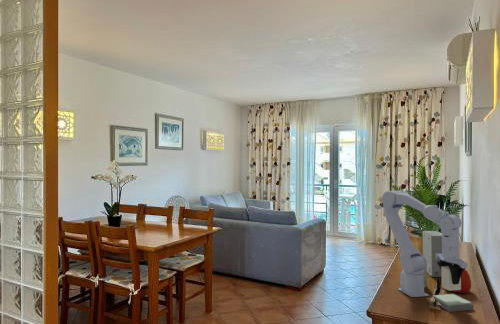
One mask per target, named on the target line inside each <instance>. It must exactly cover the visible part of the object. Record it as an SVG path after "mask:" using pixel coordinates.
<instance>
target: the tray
mask: <svg viewBox="0 0 500 324" xmlns="http://www.w3.org/2000/svg"><path fill="white" fill-rule="evenodd" d="M433 296H434V297H435V300H436V301H438V302H439V303H440V304H441V307H440V308H441V309H444V310H445V311H447V312H449V313H451V312H462V311H474V304H473V303H472V302H471V301H470V300H467V299H465V298H462V297H461V296H459V295H456V294H455V293H448V294H447V293H446V294H435V295H432V296H430V299H431V298H432V297H433Z"/></svg>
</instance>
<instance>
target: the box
mask: <svg viewBox="0 0 500 324" xmlns="http://www.w3.org/2000/svg"><path fill="white" fill-rule="evenodd" d="M424 288H428V273H427V267H426V268H425V269H424Z"/></svg>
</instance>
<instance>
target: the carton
mask: <svg viewBox="0 0 500 324" xmlns="http://www.w3.org/2000/svg"><path fill="white" fill-rule="evenodd" d="M441 275H442V277H441V288H442V289H445V290H447V291H449V292H450V291H451V292H453V291H452V290H461V277H460V281H459V284H453V283H452V276H451V271H450V269H449V267H448V266H441Z"/></svg>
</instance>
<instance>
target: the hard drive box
mask: <svg viewBox="0 0 500 324" xmlns="http://www.w3.org/2000/svg"><path fill="white" fill-rule="evenodd" d="M438 253H440V254H442V232H440V231H437V230H422V256H423V257H424V258H425V259H426V261H427V275H430V277H431V278H432V277H433V278H442V275H441V269H440V267H439V265H438V264H437V261H440V259H436V254H438Z"/></svg>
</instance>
